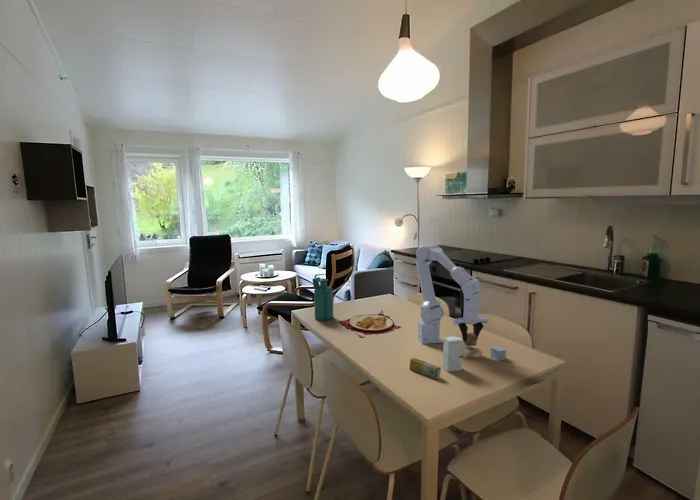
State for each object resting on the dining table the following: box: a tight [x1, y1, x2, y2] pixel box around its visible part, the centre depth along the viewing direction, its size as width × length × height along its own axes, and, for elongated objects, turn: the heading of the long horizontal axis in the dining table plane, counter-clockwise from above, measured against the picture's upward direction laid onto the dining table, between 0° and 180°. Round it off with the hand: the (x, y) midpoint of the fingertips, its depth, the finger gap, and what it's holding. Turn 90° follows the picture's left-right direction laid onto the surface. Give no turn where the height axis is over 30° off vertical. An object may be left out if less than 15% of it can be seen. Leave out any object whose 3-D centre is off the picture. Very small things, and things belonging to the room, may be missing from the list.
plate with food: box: [338, 309, 402, 338], centre depth 185 cm, size 25×26×4 cm
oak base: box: [462, 344, 482, 359], centre depth 150 cm, size 7×7×3 cm
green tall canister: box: [312, 276, 334, 322], centre depth 196 cm, size 10×8×22 cm
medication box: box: [409, 357, 442, 381], centre depth 133 cm, size 12×3×4 cm, turn 46°
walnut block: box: [462, 332, 478, 347], centre depth 149 cm, size 4×4×4 cm
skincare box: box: [442, 335, 464, 373], centre depth 136 cm, size 6×4×12 cm
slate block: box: [490, 345, 507, 362], centre depth 146 cm, size 4×4×4 cm
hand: (469, 340), depth 149 cm, fingers closed on walnut block, 4 cm apart
